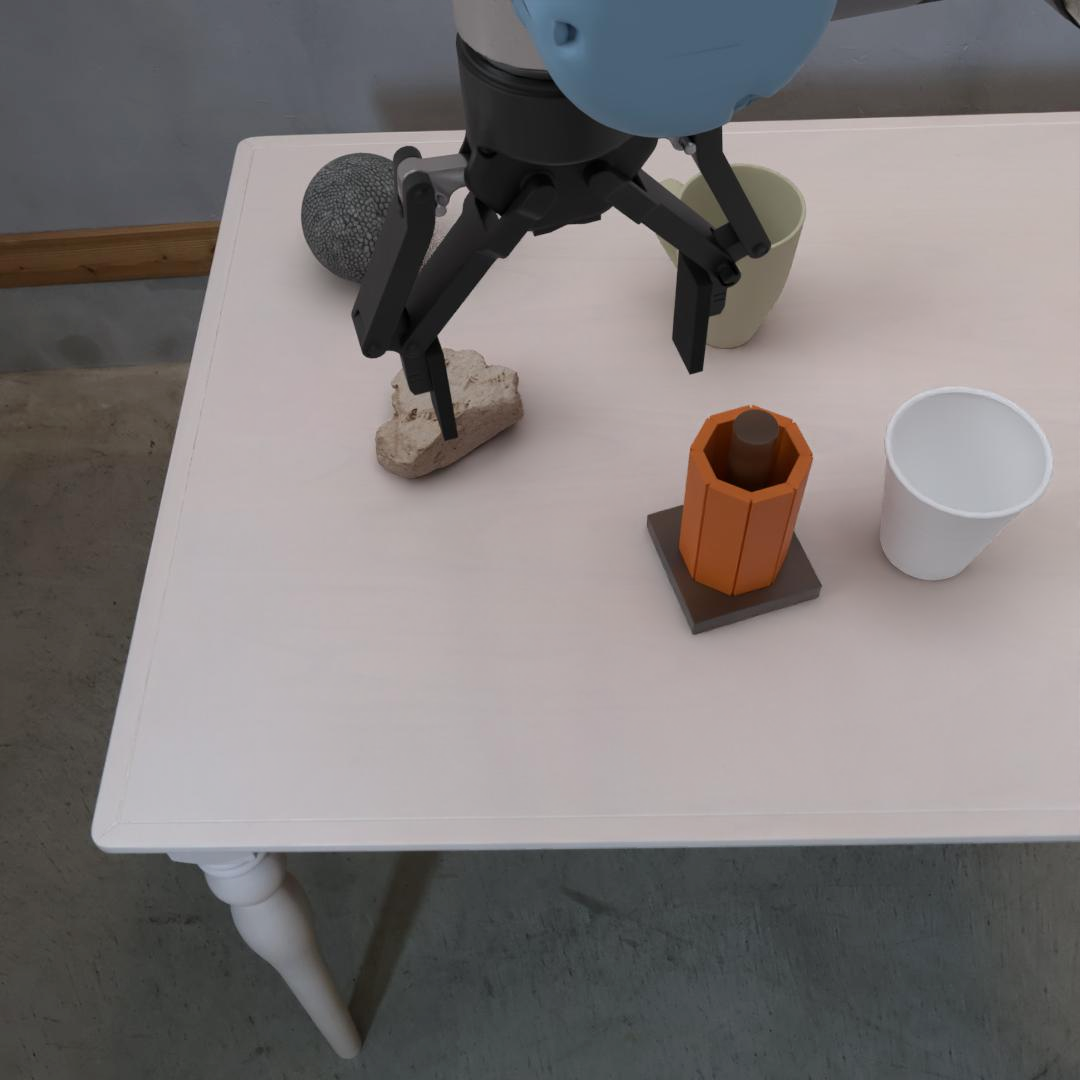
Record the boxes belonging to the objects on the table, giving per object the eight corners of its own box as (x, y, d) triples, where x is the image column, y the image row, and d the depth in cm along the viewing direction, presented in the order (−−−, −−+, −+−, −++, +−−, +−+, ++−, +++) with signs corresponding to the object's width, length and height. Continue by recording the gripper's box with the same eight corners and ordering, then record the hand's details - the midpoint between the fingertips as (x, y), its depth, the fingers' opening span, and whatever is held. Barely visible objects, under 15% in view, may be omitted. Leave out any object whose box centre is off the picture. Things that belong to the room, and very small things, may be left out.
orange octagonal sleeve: (800, 577, 75) (828, 481, 65) (704, 605, 74) (719, 513, 64) (759, 496, 78) (781, 395, 69) (667, 522, 77) (676, 424, 68)
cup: (966, 633, 74) (1019, 544, 64) (826, 565, 77) (857, 471, 67) (1021, 524, 78) (1078, 426, 68) (886, 463, 81) (924, 362, 72)
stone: (537, 431, 84) (534, 388, 80) (403, 502, 81) (392, 461, 77) (477, 356, 88) (471, 312, 84) (347, 421, 85) (334, 379, 81)
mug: (781, 277, 91) (804, 155, 81) (783, 371, 86) (808, 254, 76) (645, 272, 92) (651, 151, 82) (639, 365, 87) (644, 248, 77)
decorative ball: (356, 210, 98) (332, 112, 89) (456, 243, 95) (442, 145, 86) (292, 287, 93) (262, 191, 84) (396, 324, 90) (375, 229, 82)
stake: (818, 597, 75) (863, 466, 63) (692, 635, 74) (711, 509, 62) (765, 492, 80) (796, 350, 67) (646, 526, 79) (655, 388, 66)
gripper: (818, -97, 46) (757, 282, 64) (210, 37, 43) (326, 395, 61) (903, 5, 42) (813, 378, 60) (241, 161, 39) (355, 504, 57)
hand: (567, 387), depth 60 cm, fingers open, 13 cm apart
